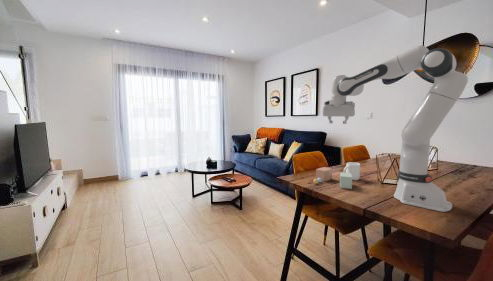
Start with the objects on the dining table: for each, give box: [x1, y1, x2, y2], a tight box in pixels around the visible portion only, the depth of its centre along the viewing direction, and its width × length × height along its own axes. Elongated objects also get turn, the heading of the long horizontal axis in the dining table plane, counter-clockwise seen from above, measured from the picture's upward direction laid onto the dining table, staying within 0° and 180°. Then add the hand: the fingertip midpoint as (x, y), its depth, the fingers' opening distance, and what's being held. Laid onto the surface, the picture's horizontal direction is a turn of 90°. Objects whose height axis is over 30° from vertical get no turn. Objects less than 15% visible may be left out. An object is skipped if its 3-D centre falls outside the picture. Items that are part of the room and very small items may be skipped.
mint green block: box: [339, 172, 353, 190], centre depth 130 cm, size 6×9×7 cm
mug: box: [343, 161, 361, 181], centre depth 144 cm, size 12×8×10 cm
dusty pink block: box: [315, 166, 333, 183], centre depth 144 cm, size 6×9×7 cm
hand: (337, 123), depth 139 cm, fingers open, 8 cm apart
